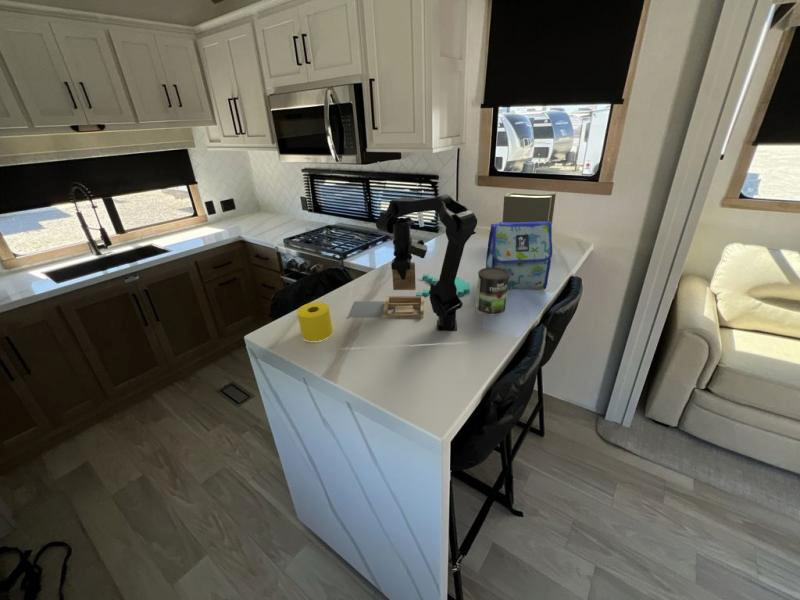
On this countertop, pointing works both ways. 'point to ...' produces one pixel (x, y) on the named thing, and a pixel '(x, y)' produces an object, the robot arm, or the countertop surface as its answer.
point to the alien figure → (460, 284)
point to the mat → (366, 309)
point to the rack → (404, 301)
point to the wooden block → (409, 279)
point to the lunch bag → (521, 253)
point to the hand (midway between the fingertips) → (403, 278)
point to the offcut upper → (403, 309)
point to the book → (528, 207)
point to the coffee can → (492, 291)
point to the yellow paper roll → (315, 321)
